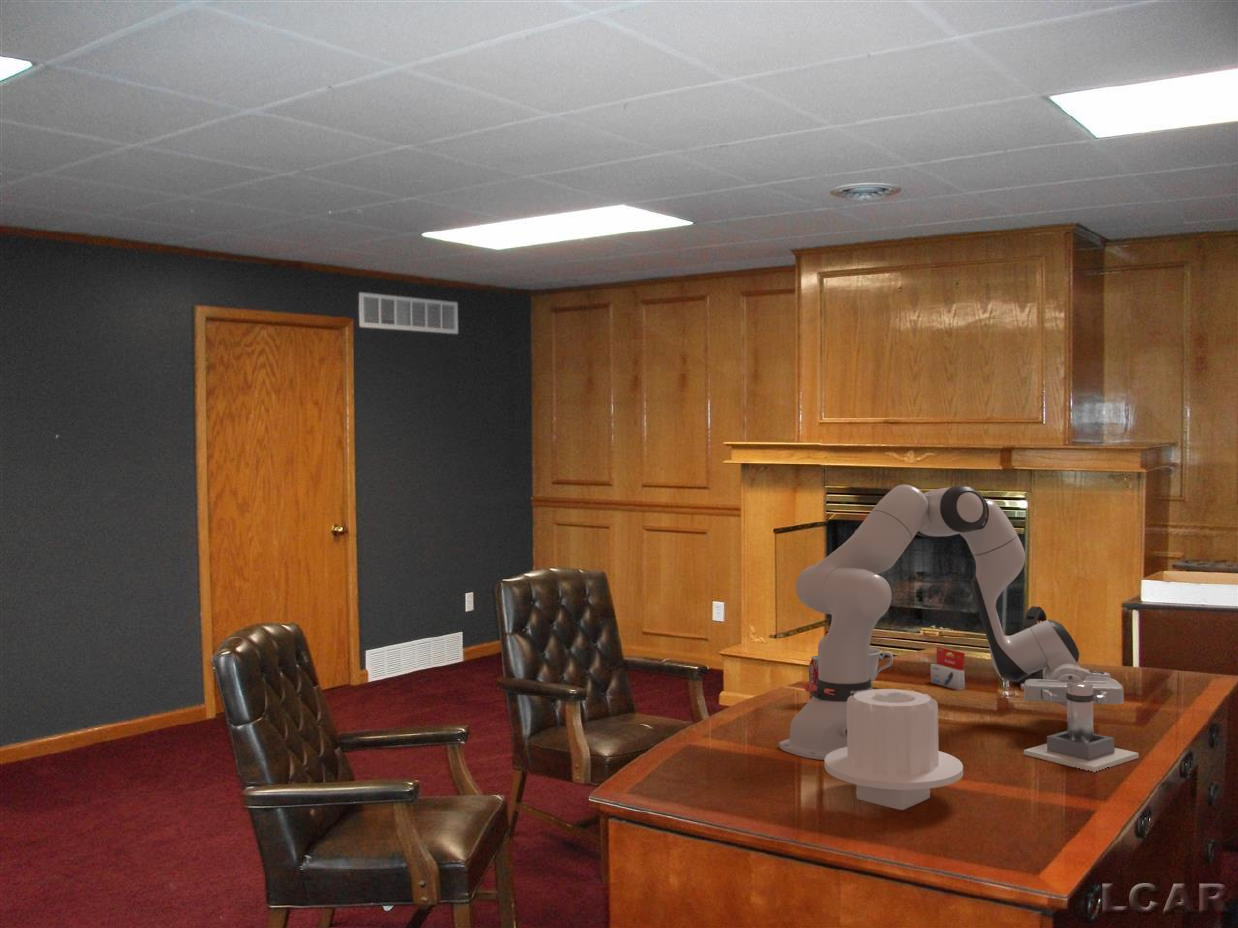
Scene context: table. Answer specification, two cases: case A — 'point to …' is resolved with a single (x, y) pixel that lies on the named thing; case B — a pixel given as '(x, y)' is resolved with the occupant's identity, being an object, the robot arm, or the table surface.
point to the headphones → (1029, 621)
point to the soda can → (813, 672)
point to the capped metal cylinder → (1080, 711)
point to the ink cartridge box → (948, 669)
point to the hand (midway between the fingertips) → (1077, 699)
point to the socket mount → (1082, 752)
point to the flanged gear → (893, 748)
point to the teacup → (874, 659)
